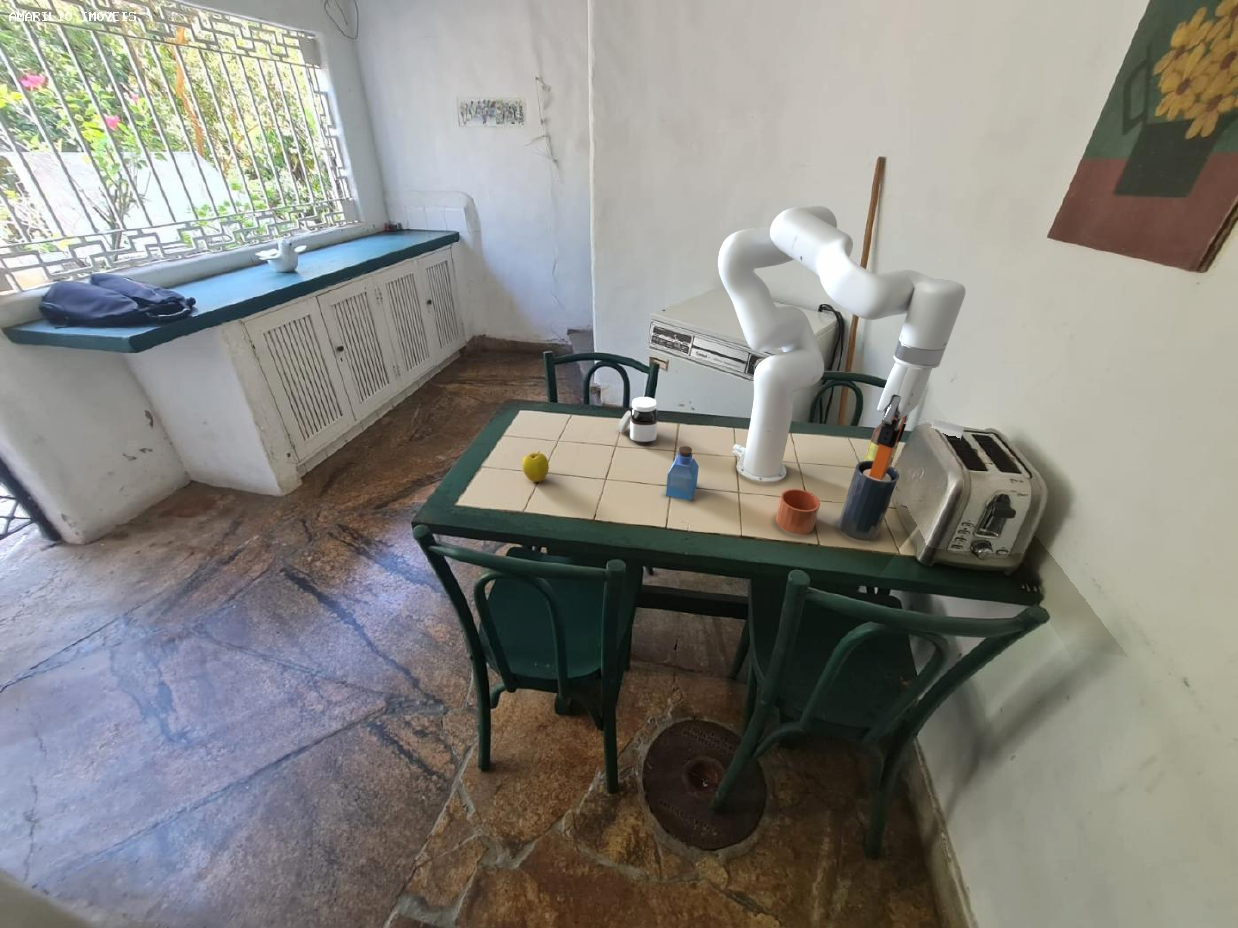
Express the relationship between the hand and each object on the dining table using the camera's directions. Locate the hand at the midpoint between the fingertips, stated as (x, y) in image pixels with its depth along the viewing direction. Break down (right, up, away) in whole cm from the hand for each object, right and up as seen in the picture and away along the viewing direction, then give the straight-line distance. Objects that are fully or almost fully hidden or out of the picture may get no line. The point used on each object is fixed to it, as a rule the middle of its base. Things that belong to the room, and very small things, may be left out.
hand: (888, 441), depth 101 cm
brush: (0, -13, +8) cm, 15 cm away
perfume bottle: (-38, -11, +24) cm, 47 cm away
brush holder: (-14, -18, +14) cm, 27 cm away
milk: (+18, -14, +21) cm, 31 cm away
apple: (-74, -9, +28) cm, 80 cm away
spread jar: (-48, +3, +47) cm, 67 cm away
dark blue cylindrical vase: (0, -19, +13) cm, 23 cm away
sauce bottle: (+12, -8, +31) cm, 34 cm away
